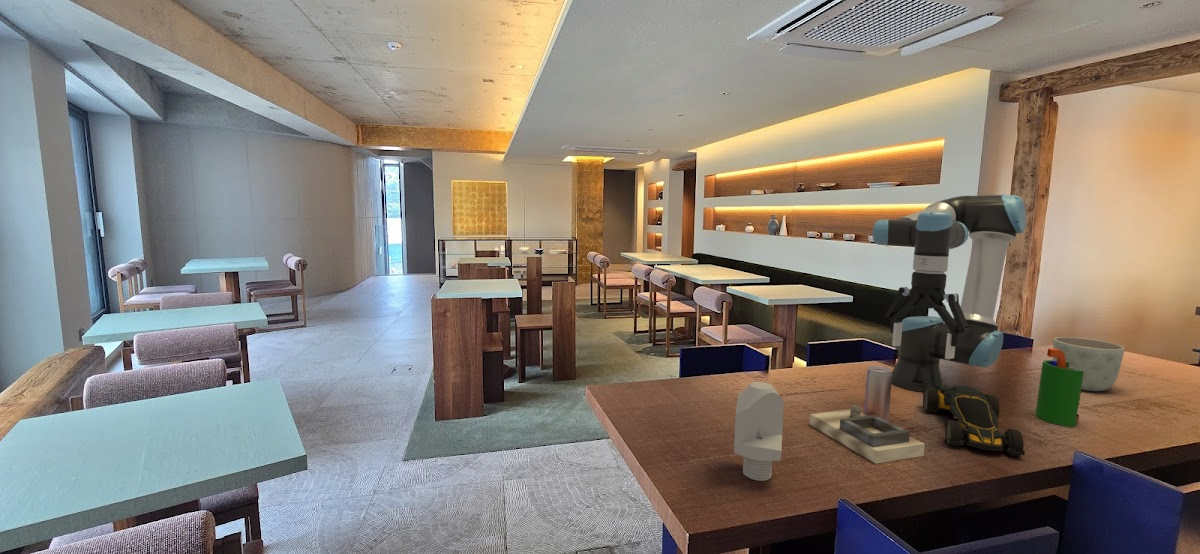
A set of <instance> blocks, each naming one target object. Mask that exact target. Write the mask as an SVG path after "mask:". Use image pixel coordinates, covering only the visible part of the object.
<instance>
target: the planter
mask: <svg viewBox="0 0 1200 554" xmlns="http://www.w3.org/2000/svg"><path fill="white" fill-rule="evenodd" d="M1052 342H1053V344H1052V348H1056V349H1059V350H1061V351H1063V353H1064V354H1065V359H1066V362H1069V368H1071V369H1075V370H1080V371H1084V376H1083V382H1082V388H1081V391H1085V392H1086V391H1087V392H1088V391H1089V392H1101V391H1102V392H1103V391H1106V390H1108V389H1110V388H1112V387H1113V386H1114V385H1115V383H1116V382H1117V380H1118V377H1119V373H1120V370H1121V365H1122V361H1123V358H1124V353H1125V349H1126V348H1125V347H1124V346H1123V345H1121V344H1118V343H1115V342H1114V343H1113V342H1111V341H1110V342H1109V341H1105V340H1100V339H1092V338H1085V337H1075V336H1057V337H1054V338H1053V341H1052ZM1052 360H1056V361H1057V357H1052Z"/></svg>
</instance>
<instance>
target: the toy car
mask: <svg viewBox="0 0 1200 554" xmlns="http://www.w3.org/2000/svg"><path fill="white" fill-rule="evenodd" d="M922 405H923V410H924V411H925V412H927V413H936V412H938V409H939V410H943V411H944V410H945V411H947V413H951V414H952V415H953V419H957V420H952V419H948V420H947V421H946V424H945V431H944V432H945V433H944V434H945V442H946V443H947V445H948V446H950V447H951V446H953V447H959V446H964V443H965V444H966V445H967V446H969V447H973V448H976V449H981V450H985V451H995V452H1002V451H1005V452H1006V454H1007V455H1008V456H1011V457H1018V458H1020V457H1021V456H1025V454H1026V451H1025V450H1024V449H1025V448H1024V438H1023V435H1022V434H1023V433H1022V432H1021V431H1020V430H1018V429H1014V428H1008V429H1006V430H1005V431H1004V433H1002V432H1000V431H999V430H998V429H999V425H998V422H997V421H998V419H999V415H1000V401H999V399H998V397H997V396H996V395H995V394H989V393H986V394H984V393H982V392H981V391H979V390H978V388H977V387H971V386H967V385H953V386H948V385H944V386H940V389H939V390H936V389H935V388H933V387H925V389H924V392H923V394H922Z"/></svg>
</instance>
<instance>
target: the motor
mask: <svg viewBox="0 0 1200 554" xmlns="http://www.w3.org/2000/svg"><path fill="white" fill-rule="evenodd" d="M1046 355H1047V357H1049V358H1053V357H1057V361H1056V360H1053V359H1047V360H1042V365H1041V371H1040V372H1041V373H1040V379H1039V385H1038V393H1037V399H1036V407H1035V414H1034V415H1035V416H1036V418H1038V419H1039V420H1042V421H1045V422H1047V423H1050V424H1053V425H1059V426H1061V427H1062V426H1064V427H1069V428H1075V427H1076V426H1078V425H1079V420H1080V415H1079V414H1078V411H1079V407H1080V401H1081V394H1082V390H1081V388H1082V382H1083V376H1084V371H1080V370H1075V369H1071V368H1069V362H1066V359H1065V354H1064V353H1063V351H1061V350H1059V349H1056V348H1053V347H1052V348H1048V349H1047V354H1046Z"/></svg>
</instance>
